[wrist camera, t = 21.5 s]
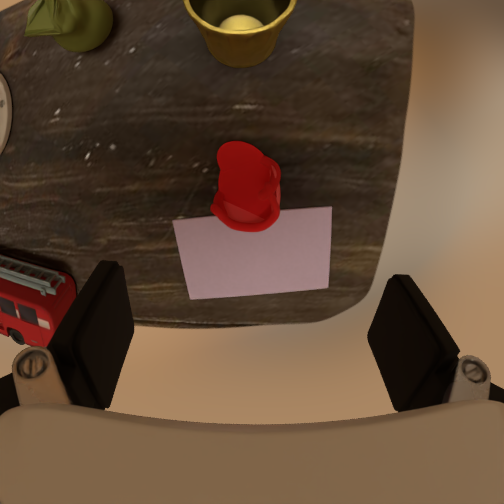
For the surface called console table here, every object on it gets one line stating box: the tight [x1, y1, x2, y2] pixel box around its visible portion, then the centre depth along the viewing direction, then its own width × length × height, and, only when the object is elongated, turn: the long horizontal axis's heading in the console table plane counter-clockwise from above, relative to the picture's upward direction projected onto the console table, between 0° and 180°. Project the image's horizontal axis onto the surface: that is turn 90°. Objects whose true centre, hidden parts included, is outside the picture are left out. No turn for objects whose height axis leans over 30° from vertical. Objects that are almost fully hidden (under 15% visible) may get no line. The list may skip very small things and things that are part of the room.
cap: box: [210, 141, 281, 232], centre depth 26 cm, size 8×6×6 cm
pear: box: [24, 0, 113, 52], centre depth 16 cm, size 6×5×10 cm
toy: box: [0, 254, 76, 348], centre depth 30 cm, size 8×22×10 cm
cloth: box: [173, 206, 332, 299], centre depth 33 cm, size 16×10×1 cm, turn 95°
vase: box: [183, 0, 297, 68], centre depth 16 cm, size 6×6×14 cm
